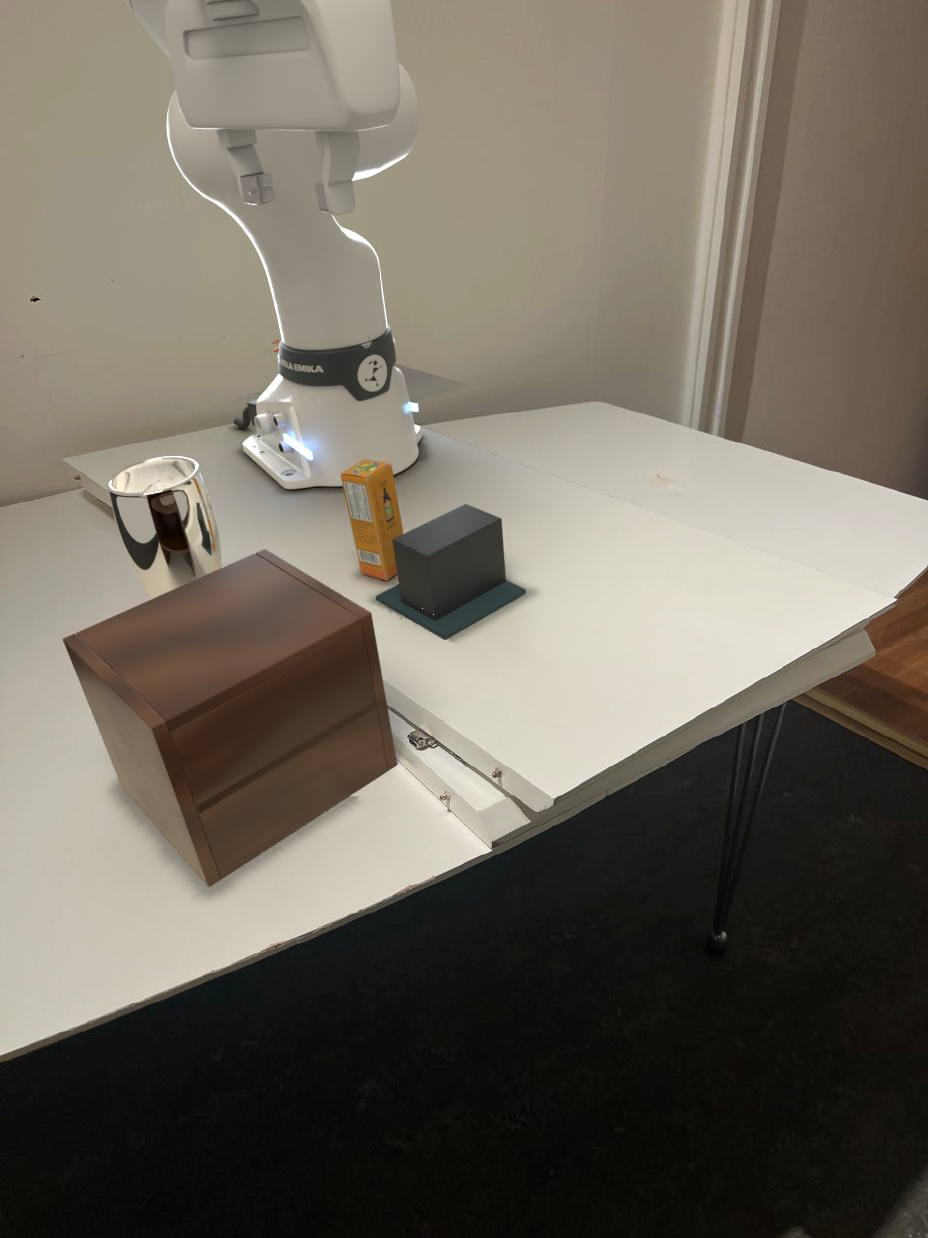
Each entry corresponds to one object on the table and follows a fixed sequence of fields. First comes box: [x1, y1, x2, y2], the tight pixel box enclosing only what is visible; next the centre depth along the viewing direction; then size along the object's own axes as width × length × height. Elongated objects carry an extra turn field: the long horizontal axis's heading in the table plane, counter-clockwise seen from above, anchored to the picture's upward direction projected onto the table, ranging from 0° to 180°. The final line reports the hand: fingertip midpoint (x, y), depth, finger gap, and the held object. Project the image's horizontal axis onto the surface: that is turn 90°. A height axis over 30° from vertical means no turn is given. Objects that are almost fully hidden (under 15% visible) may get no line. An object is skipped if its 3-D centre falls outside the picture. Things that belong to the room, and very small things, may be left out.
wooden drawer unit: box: [62, 548, 398, 887], centre depth 57 cm, size 12×14×12 cm
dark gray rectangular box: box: [392, 503, 507, 621], centre depth 75 cm, size 4×8×6 cm, turn 132°
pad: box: [375, 579, 527, 640], centre depth 76 cm, size 9×9×1 cm
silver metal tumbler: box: [106, 455, 223, 600], centre depth 70 cm, size 7×7×15 cm
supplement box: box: [340, 459, 405, 581], centre depth 78 cm, size 3×3×10 cm
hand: (296, 207), depth 59 cm, fingers open, 8 cm apart
